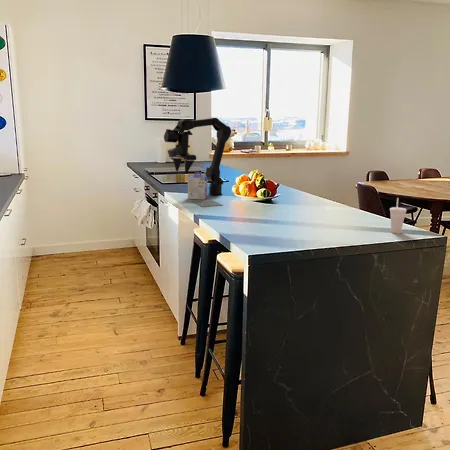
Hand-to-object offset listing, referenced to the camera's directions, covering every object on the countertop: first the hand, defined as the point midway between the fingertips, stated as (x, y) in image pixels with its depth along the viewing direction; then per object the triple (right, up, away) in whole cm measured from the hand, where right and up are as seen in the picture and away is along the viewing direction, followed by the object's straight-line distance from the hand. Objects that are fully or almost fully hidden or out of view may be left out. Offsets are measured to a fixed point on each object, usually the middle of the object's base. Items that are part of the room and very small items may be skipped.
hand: (181, 172), depth 258 cm
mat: (+14, -18, -13) cm, 26 cm away
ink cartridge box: (+9, -15, +1) cm, 17 cm away
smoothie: (+92, -32, -69) cm, 120 cm away
